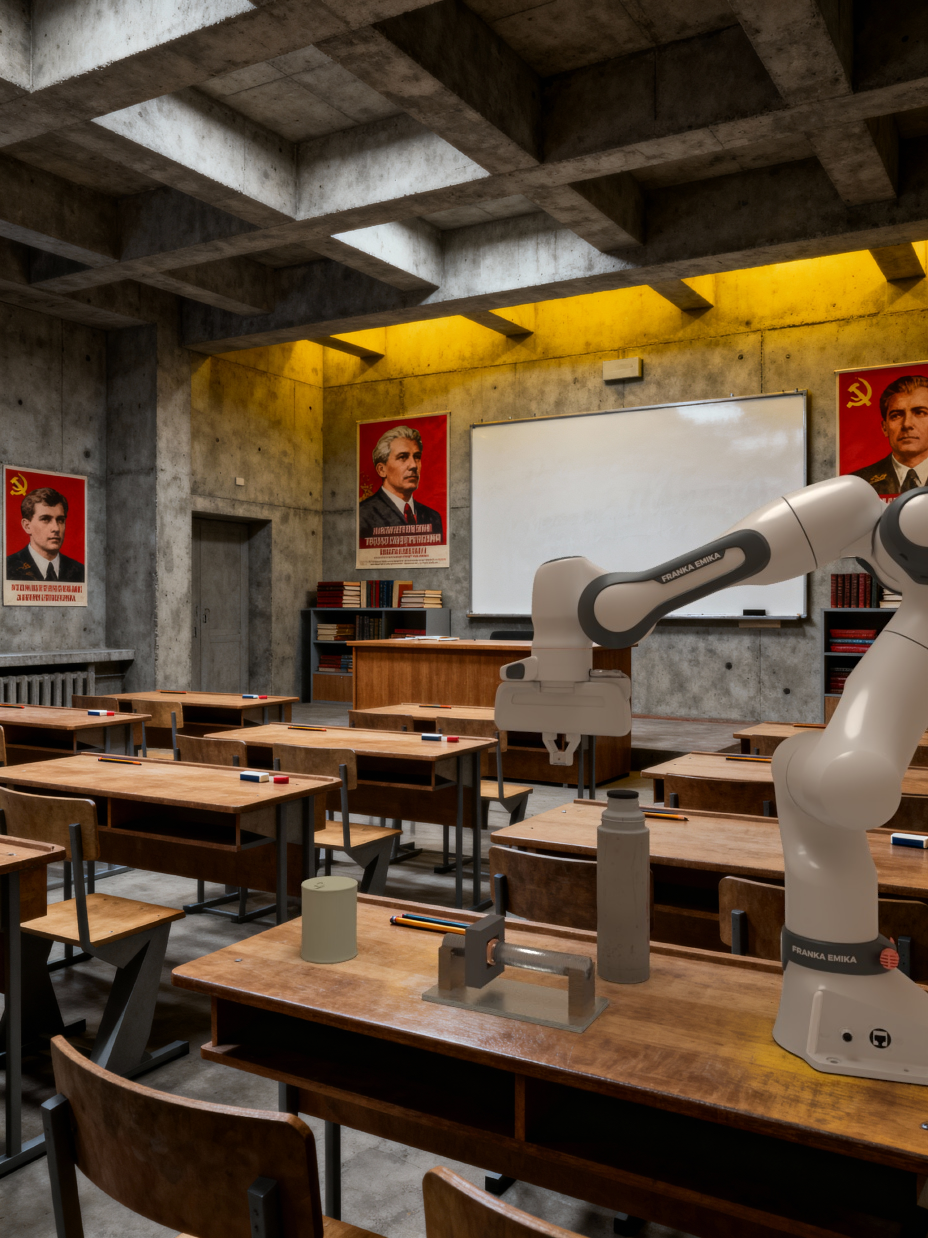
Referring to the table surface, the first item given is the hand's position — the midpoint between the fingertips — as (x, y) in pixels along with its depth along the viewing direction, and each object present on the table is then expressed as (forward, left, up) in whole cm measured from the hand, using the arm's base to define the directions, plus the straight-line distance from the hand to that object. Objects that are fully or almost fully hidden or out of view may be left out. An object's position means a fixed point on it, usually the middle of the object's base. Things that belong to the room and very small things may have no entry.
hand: (561, 764), depth 133 cm
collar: (+10, +5, -31) cm, 32 cm away
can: (+40, +1, -33) cm, 52 cm away
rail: (+5, +5, -33) cm, 34 cm away
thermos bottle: (-5, -13, -33) cm, 36 cm away
